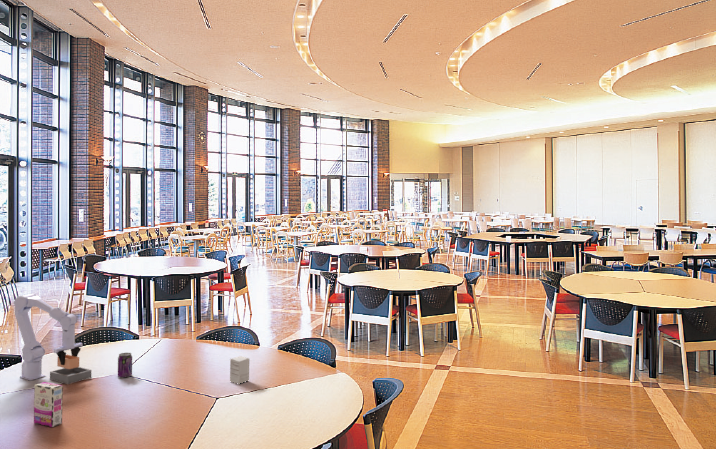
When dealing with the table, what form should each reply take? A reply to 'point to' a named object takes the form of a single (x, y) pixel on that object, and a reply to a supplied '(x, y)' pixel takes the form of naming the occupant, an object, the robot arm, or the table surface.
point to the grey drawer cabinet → (239, 369)
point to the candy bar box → (48, 404)
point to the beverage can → (124, 365)
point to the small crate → (69, 362)
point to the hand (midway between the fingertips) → (68, 363)
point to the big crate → (70, 375)
